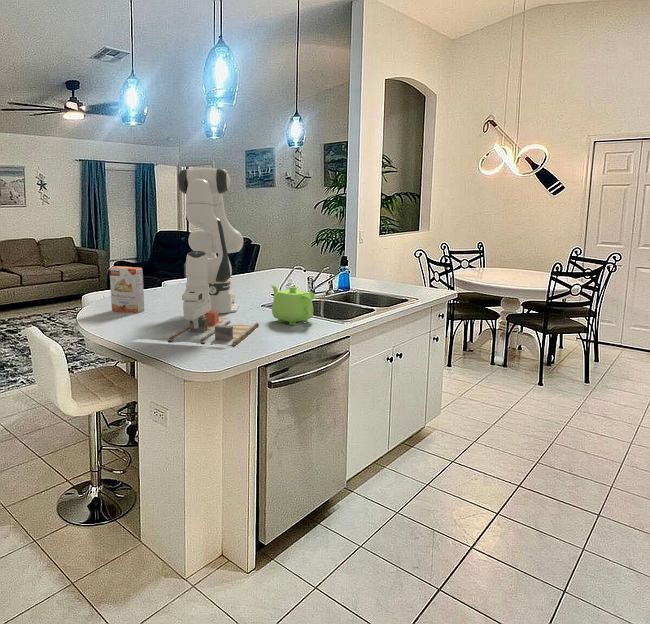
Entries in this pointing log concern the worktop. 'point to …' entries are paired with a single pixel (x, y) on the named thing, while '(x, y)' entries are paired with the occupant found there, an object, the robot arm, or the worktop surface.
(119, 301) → the cracker box
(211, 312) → the cube
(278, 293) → the teapot
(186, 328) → the lane rails
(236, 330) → the strip
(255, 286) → the worktop surface
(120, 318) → the worktop surface
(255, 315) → the worktop surface
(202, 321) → the strip
